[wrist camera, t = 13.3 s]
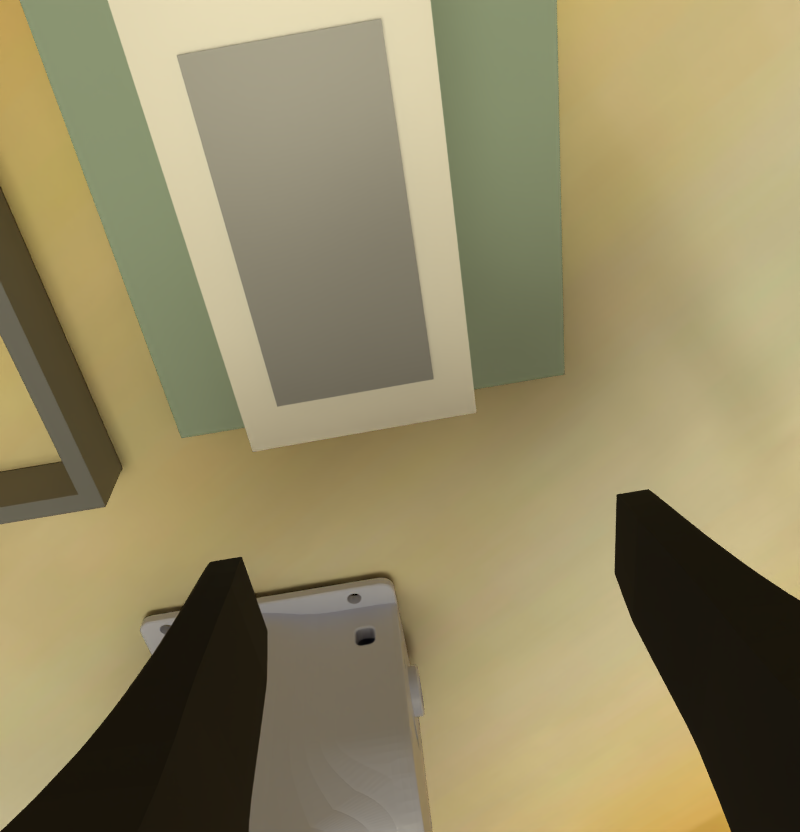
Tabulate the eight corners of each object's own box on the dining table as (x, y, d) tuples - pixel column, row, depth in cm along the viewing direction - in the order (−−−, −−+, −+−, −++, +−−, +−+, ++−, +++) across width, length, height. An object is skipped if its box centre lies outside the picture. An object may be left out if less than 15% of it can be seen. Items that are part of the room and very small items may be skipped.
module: (387, -52, 16) (423, -74, 10) (432, 284, 20) (477, 416, 14) (188, -17, 16) (98, -16, 10) (275, 312, 20) (251, 456, 14)
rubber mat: (542, -278, 14) (550, -289, 14) (559, 365, 22) (564, 374, 22) (-37, -181, 14) (-49, -186, 14) (184, 428, 22) (181, 438, 22)
